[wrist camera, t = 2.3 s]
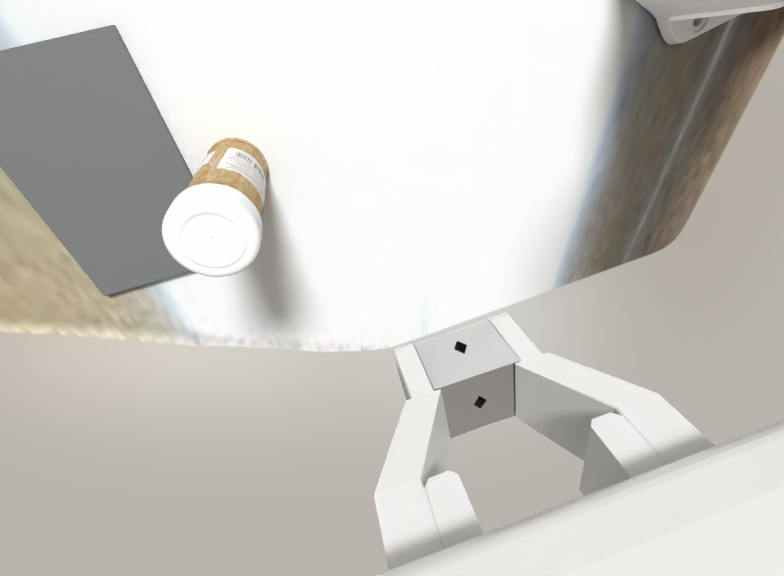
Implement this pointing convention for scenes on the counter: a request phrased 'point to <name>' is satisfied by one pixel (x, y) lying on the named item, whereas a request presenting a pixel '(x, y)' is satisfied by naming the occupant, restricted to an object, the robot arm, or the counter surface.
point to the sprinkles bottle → (219, 211)
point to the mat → (92, 154)
